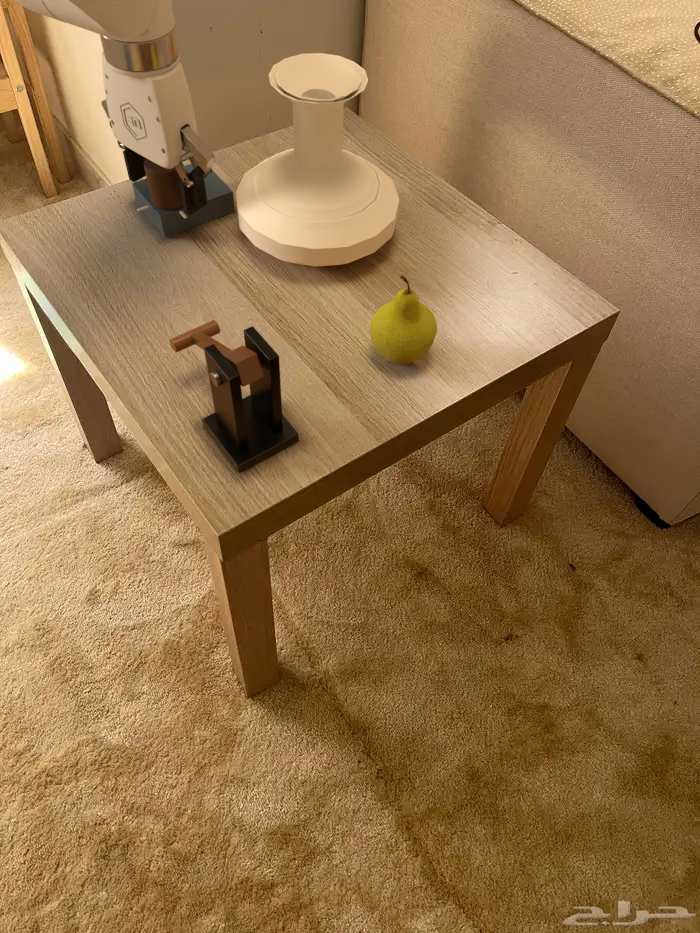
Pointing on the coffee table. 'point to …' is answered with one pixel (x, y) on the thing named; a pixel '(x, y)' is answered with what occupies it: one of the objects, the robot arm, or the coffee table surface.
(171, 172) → the knob
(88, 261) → the coffee table surface
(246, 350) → the lever
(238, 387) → the bracket
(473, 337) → the coffee table surface
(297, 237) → the white vase
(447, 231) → the coffee table surface
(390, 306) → the fruit
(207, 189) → the panel
